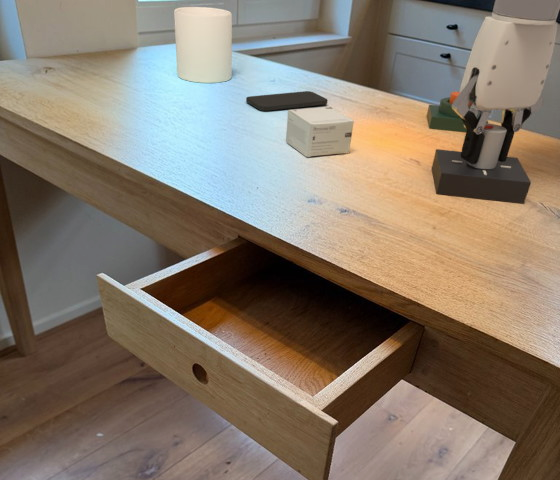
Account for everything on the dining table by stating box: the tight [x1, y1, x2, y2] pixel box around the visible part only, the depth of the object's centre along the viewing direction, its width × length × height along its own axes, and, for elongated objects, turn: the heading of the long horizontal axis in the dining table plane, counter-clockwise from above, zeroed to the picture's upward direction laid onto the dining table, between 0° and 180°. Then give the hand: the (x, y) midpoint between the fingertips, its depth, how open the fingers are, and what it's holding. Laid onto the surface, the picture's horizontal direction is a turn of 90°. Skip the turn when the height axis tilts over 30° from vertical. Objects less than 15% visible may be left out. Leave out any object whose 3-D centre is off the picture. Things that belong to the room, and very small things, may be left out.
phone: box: [245, 90, 328, 112], centre depth 109 cm, size 7×1×15 cm
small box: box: [285, 106, 355, 158], centre depth 89 cm, size 8×8×5 cm
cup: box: [173, 6, 233, 84], centre depth 118 cm, size 12×12×12 cm
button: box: [449, 91, 472, 106], centre depth 102 cm, size 4×4×2 cm
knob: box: [467, 122, 507, 169], centre depth 78 cm, size 4×4×5 cm
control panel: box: [431, 149, 532, 204], centre depth 81 cm, size 12×10×3 cm
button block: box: [426, 97, 489, 134], centre depth 104 cm, size 10×8×4 cm
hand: (482, 158), depth 79 cm, fingers closed on knob, 4 cm apart
